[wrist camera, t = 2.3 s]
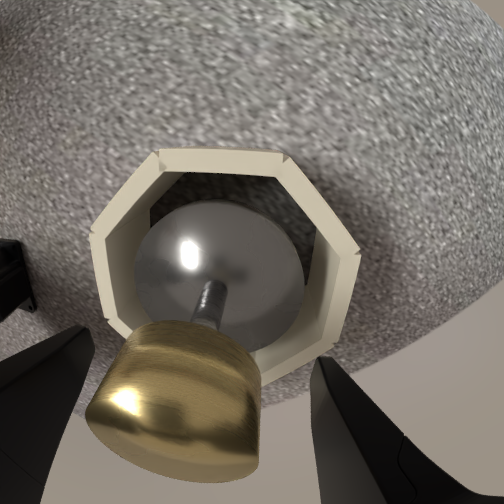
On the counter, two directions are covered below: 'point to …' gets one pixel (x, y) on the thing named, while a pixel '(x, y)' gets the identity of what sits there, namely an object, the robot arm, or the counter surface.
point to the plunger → (199, 342)
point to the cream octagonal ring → (233, 162)
